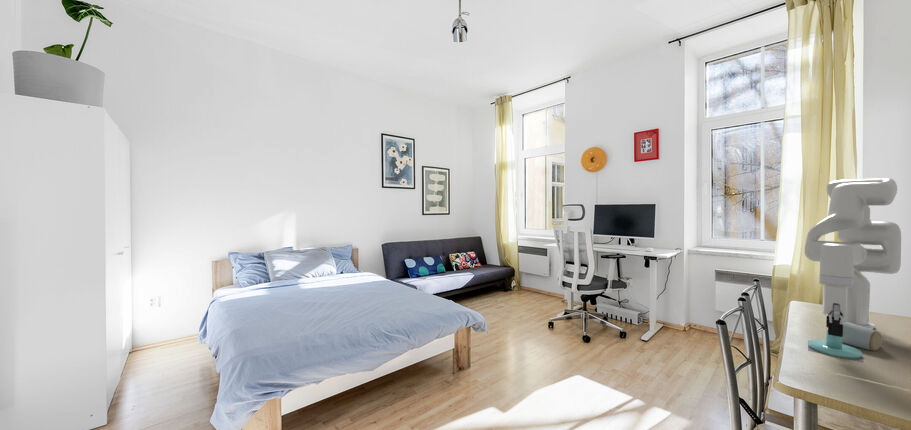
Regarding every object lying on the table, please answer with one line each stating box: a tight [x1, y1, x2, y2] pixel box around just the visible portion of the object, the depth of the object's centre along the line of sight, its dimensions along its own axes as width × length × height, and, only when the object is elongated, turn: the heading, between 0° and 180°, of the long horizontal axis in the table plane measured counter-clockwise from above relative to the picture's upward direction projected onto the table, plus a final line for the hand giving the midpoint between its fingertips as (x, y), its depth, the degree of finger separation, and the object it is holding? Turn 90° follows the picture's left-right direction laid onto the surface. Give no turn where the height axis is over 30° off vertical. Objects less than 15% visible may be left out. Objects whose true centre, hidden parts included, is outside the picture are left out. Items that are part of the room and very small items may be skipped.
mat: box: [807, 340, 865, 363], centre depth 114 cm, size 12×12×1 cm
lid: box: [807, 329, 863, 359], centre depth 114 cm, size 12×12×6 cm
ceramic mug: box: [842, 322, 883, 352], centre depth 118 cm, size 11×8×8 cm
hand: (834, 331), depth 113 cm, fingers open, 9 cm apart
